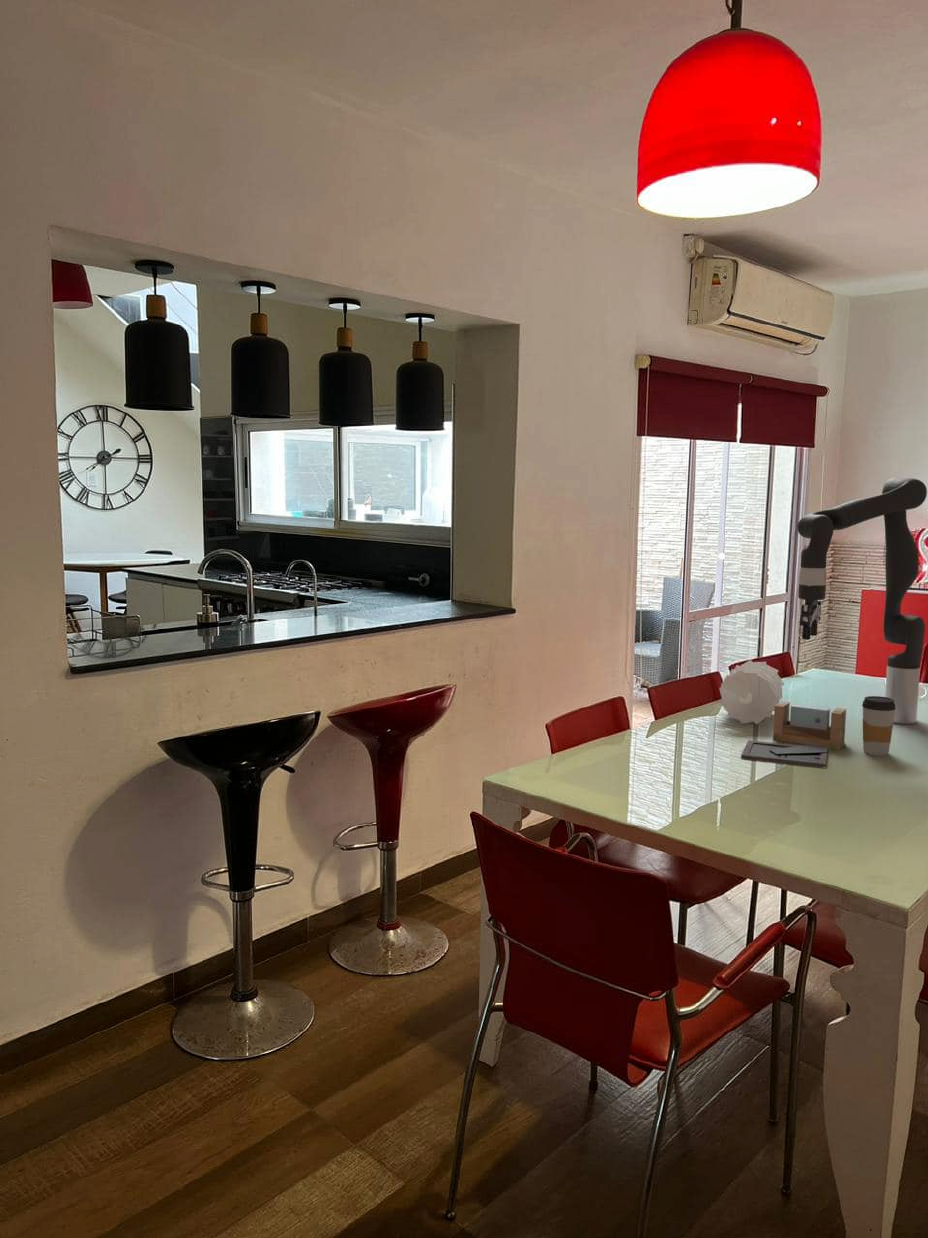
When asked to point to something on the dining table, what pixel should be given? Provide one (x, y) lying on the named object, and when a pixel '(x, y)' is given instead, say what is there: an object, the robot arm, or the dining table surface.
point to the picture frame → (786, 753)
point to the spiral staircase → (751, 692)
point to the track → (809, 729)
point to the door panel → (810, 717)
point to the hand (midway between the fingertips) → (809, 637)
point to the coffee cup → (877, 724)
